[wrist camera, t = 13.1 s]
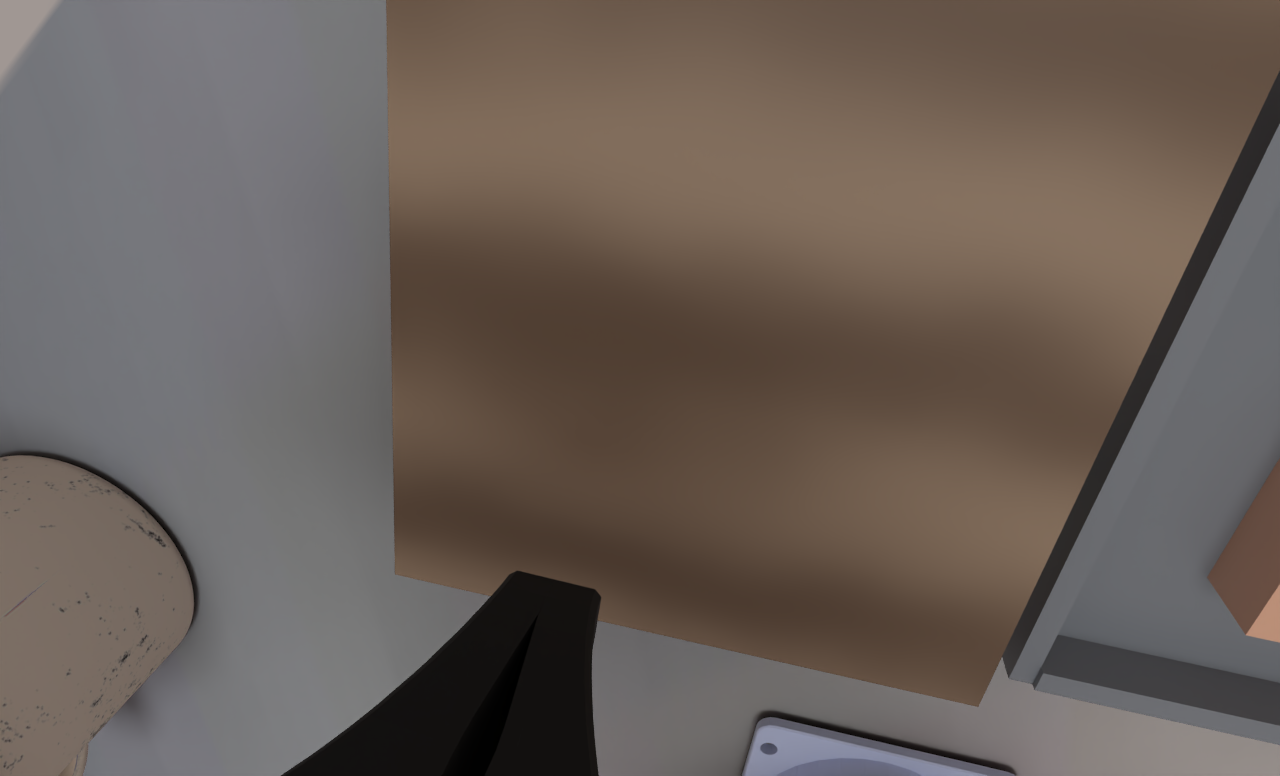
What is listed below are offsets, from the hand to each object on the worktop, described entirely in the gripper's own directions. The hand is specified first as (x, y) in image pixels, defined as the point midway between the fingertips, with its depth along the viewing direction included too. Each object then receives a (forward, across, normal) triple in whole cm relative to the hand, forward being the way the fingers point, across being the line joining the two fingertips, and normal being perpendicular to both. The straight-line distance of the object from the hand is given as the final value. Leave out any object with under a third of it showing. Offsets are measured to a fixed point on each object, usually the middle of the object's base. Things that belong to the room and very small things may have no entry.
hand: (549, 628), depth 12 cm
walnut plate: (+9, -2, -2) cm, 10 cm away
